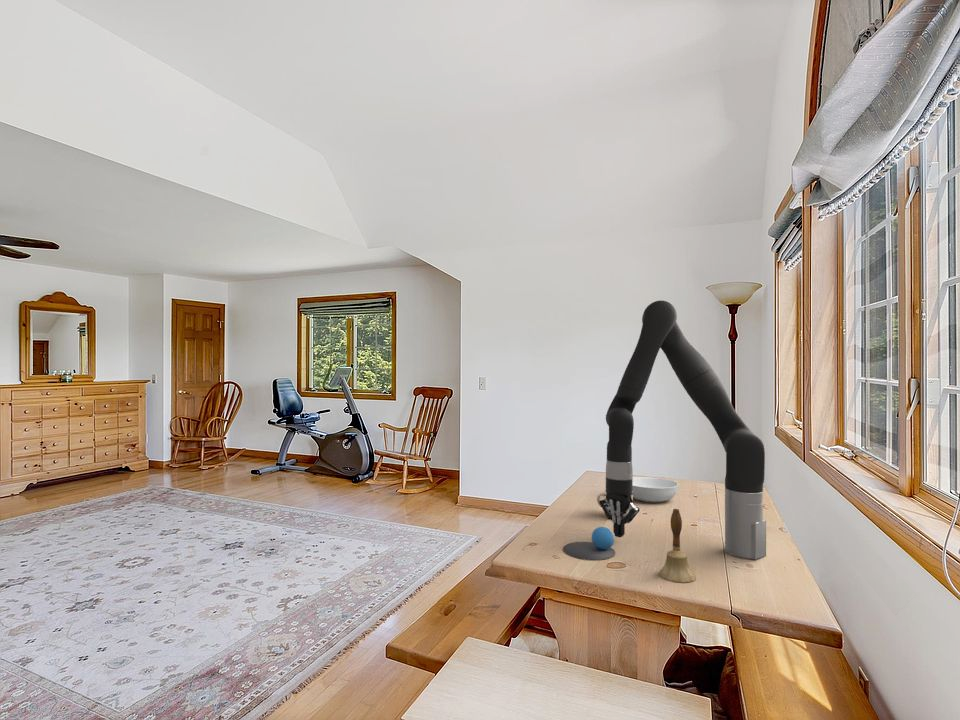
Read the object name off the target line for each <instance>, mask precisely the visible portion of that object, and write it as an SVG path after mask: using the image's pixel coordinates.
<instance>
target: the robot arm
mask: <svg viewBox="0 0 960 720" xmlns="http://www.w3.org/2000/svg"><path fill="white" fill-rule="evenodd" d="M677 315H678V314H677V311H676V308H675V306H674V305H673V304H672V303H670V302H669V301H667V300H656V301H653V302H651V303H649V304H648V305H647V306H646V307H645V309H644V311H643V314H642V317H641V323H642V326H641V331H640V334H639V336H638V337H639V338H638V340H637V343H636V346H635V348H634V351H633V353H632V355H631V357H630V359H629V361H628V363H627V366H626V368H625V370H624V372H623V375H622V377H621V380H620V383H619V385H618V388H617V392H616V394H615V395H614V397H613V399H612V400H611V403H610V404H609V407H608V409H607V412H606V415H605V422H606V425H607V426H608V442H607V443H606V464H605V494H606V492H607V494H606V496H605V498H604V499H601V500H600V499H599V500H600V502H599V503H600V505H601V507H600V508H602V510H603V512H604V515H605V516H606V518H607V520H609V521H612V523H613V525H612V526H613V532H612V533H613V535H614V537H617V538H623V537H624V536H625V525H626V524H630V523H631V522H632V521H633V520H634V519H635V517H636V516H637V515H638V513H639V512H640V511H641V510H640V507H636V505H634V503H633V502H634V499H633V500H632V497H631V495H632V492H633V473H634V472H633V463H632V462H633V461H632V460H633V458H632V457H633V452H632V451H633V450H632V443H633V437H634V429H635V427H634V423H635V421H634V417H633V412H634V410H635V407H636V405H637V403H639V402H640V401H641V399H642V397H643V394H644V392H645V390H646V387H647V385H648V382H649V379H650V377H651V373H652V370H653V367H654V365H655V362H656V359H657V356H658V353H659V351H660V349H661V351H662V352H663V354H664V355H665V357H666V359H667V360H668V362H669V364H670V366H671V369H672V370H673V371H674V374H675V375H676V377H677V379H678V381H679V382H680V385H681V386H682V387H683V389H684V391H685V392H686V393H687V395H688V396H689V398H690V399H691V400H692V401H693V403H694V404H695V406H697V408H698V409H699V410H700V411H701V412H702V414H703V415H704V416H705V417H706V418H707V420H708V421H709V422H710V424H711V426H712V427H713V430H715V432H716V434H717V436H718V438H719V440H720V442H721V444H722V447H723V448H724V452H725V456H726V457H725V478H724V551H725V553H727V554H729V555H731V556H734V557H738V558H742V559H751V560H753V561H754V560H759V559H762V558H763V557H766V556H767V520H766V519H765V518H763V517H764V511H763V510H764V509H763V508H764V505H763V504H764V503H763V502H764V501H763V499H764V484H765V483H764V482H765V468H766V467H765V466H766V465H765V464H766V462H765V461H766V458H765V457H766V454H765V453H766V451H765V445H764V443H763V441H762V439H761V438H760V437H759V436H758V435H757V434H754V432H753V431H752V430H751V429H750V428H749V427H748V425H746V423H745V422H744V421H743V419H742V418H741V416H740V415H739V414H738V413H737V412H736V410H735V408H734V406H733V404H732V402H731V400H730V398H729V395H728V392H727V391H726V389H725V387H724V385H723V383H722V381H721V379H720V378H719V376H718V375H717V374H716V372H715V370H714V369H713V368H712V366H711V365H710V364H709V362H708V361H707V359H705V357H704V356H703V355H701V354H700V351H698V350H696V349H695V347H694V346H693V345H692V344H691V343H690V342H689V341H688V339H687V338H686V336H685V335H684V333H683V332H682V330H681V328H680V326H679V325H678V323H677V320H678V316H677ZM628 509H629V510H628ZM627 510H628V511H629V512H628V514H627Z"/></svg>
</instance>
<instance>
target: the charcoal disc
mask: <svg viewBox="0 0 960 720" xmlns="http://www.w3.org/2000/svg"><path fill="white" fill-rule="evenodd" d="M562 551H563V553H564V554H566V555H568V556H570V557H572V558H576V559H579V560H584V559H585V560H586V561H602V560H608V559H612V558H613V557H615V555H616V550H615V549H614V548H612V546H611V547H610V548H609V549H606V550H601V549H598V548H597V547H596V546H595V545H594V544H593V542H592V541H574V542H569V543H566V544H564V546H562ZM585 560H584V561H585Z"/></svg>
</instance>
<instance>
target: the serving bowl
mask: <svg viewBox="0 0 960 720" xmlns="http://www.w3.org/2000/svg"><path fill="white" fill-rule="evenodd" d="M679 487H680V484H679V483H678V482H677V481H674V480H672V479H671V480H670V479H666V478H660V477H649V476H635V477H633V499H634V500H639V501H640V500H642V501H641V502H644V501H647V502H646V503H653V502H655V503H661V502H665V501H666V502H667V501H669V500H672V499H673V498H674V497H675V496H676V495H677V493H678V491H679Z"/></svg>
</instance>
